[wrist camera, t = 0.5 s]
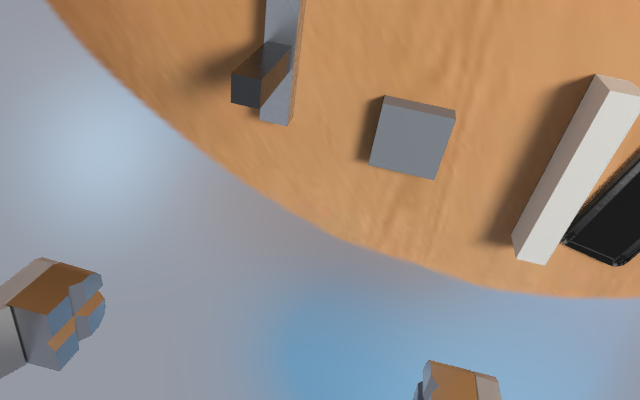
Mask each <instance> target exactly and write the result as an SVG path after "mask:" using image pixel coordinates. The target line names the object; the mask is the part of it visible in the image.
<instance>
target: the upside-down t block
mask: <svg viewBox="0 0 640 400" xmlns="http://www.w3.org/2000/svg"><path fill="white" fill-rule="evenodd" d="M305 5H306V0H267V2H266V18H265V35H264V44H263V45H262V46H261V47H260V48H259V49H258V50H257V51H256V52H254V53H253V54H252V55H251V56H250V57H249V58H248V59H247V60H246V61H245V62H244V63H242V64H241V65H240V66H239V67H238V68H237V69H236V70H235V71H234V72H233V73H231V103H235V104H239V105H244V106H248V107H253V108H257V109H260V117H259V120H262V121H266V122H271V123H275V124H280V125H284V126H288V124H289V123H290V121H291V119H292V118H293V113H294V104H295V95H296V86H297V77H298V68H299V59H300V50H301V41H302V32H303V23H304V14H305Z"/></svg>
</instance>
